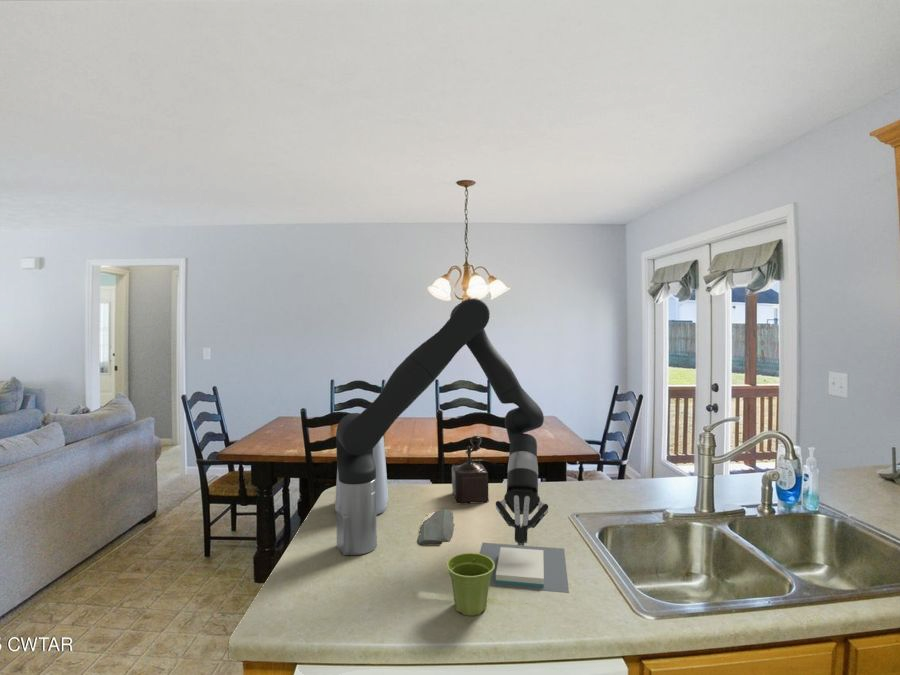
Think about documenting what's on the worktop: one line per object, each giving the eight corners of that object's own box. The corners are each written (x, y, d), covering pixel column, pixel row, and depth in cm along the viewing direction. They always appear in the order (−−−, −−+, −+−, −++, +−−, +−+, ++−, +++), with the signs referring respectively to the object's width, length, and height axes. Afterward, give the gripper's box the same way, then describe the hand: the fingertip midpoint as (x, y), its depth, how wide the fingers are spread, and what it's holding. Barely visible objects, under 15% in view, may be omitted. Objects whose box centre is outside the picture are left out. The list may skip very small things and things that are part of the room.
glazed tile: (543, 557, 115) (543, 587, 102) (500, 554, 117) (495, 582, 104) (543, 550, 115) (543, 578, 102) (500, 547, 117) (495, 574, 104)
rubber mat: (568, 596, 100) (568, 592, 100) (471, 587, 103) (471, 583, 103) (564, 551, 120) (564, 548, 119) (482, 545, 123) (482, 542, 123)
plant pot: (498, 620, 92) (498, 574, 92) (448, 623, 91) (448, 577, 91) (490, 593, 101) (490, 551, 101) (445, 595, 101) (444, 553, 100)
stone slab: (418, 551, 124) (457, 546, 124) (416, 540, 124) (455, 535, 124) (421, 518, 146) (455, 513, 146) (420, 508, 146) (453, 504, 146)
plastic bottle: (389, 498, 157) (388, 411, 156) (384, 516, 142) (383, 420, 141) (342, 499, 157) (341, 412, 156) (332, 517, 142) (331, 421, 141)
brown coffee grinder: (491, 502, 153) (491, 445, 153) (456, 504, 152) (456, 446, 151) (480, 486, 169) (480, 434, 168) (449, 488, 167) (448, 435, 167)
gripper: (495, 465, 121) (490, 535, 109) (549, 467, 119) (551, 540, 107) (497, 480, 126) (492, 548, 114) (549, 482, 124) (550, 552, 112)
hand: (520, 544), depth 111 cm, fingers closed
